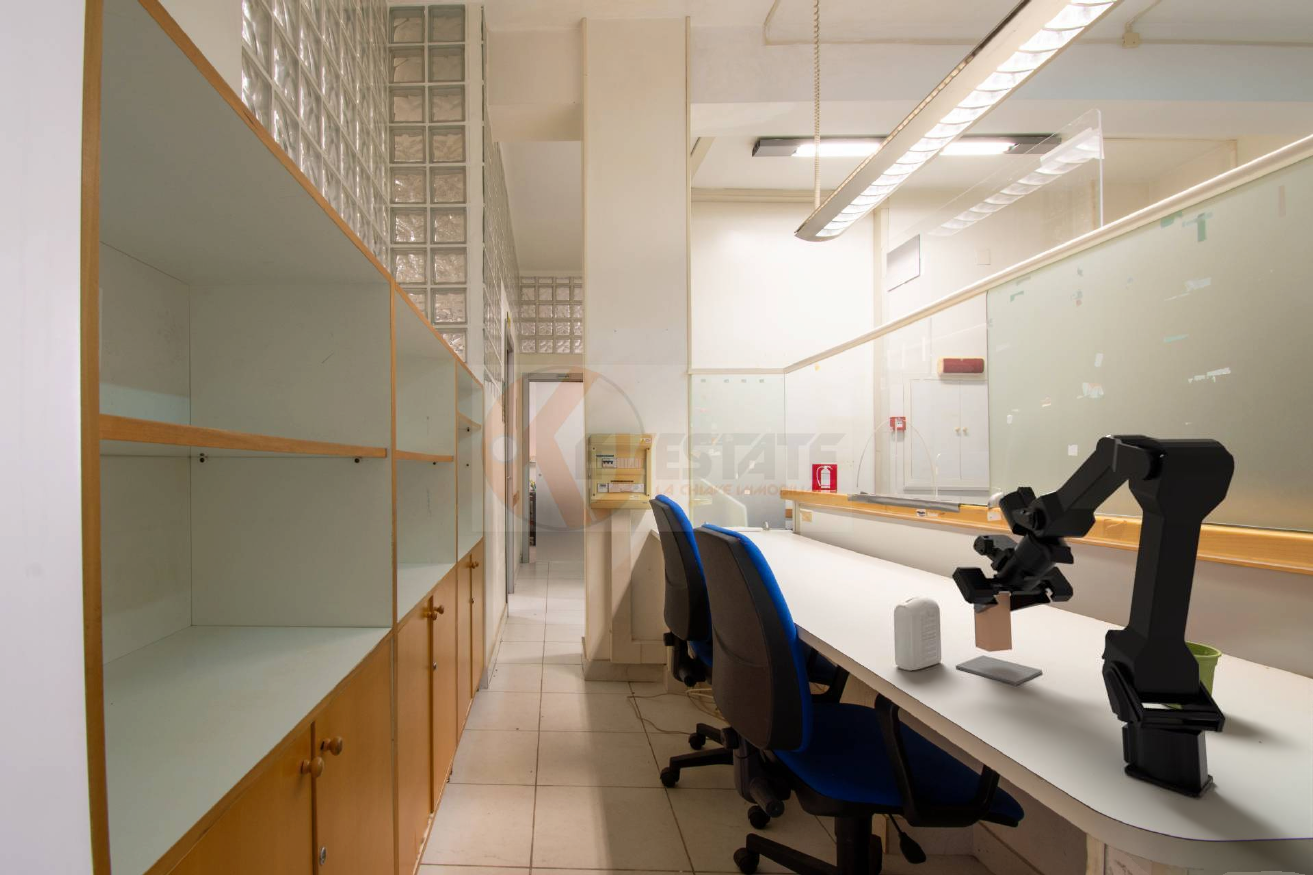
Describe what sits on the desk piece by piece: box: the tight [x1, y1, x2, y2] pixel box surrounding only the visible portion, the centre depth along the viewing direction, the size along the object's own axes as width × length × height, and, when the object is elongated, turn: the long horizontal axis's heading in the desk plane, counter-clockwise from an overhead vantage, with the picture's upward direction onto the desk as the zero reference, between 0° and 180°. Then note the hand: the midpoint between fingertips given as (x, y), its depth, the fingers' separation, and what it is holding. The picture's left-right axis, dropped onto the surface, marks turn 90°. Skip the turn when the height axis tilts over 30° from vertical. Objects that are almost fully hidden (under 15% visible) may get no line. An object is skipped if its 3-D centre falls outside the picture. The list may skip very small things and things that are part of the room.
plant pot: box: [1164, 640, 1223, 709], centre depth 85 cm, size 9×9×9 cm
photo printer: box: [893, 595, 942, 672], centre depth 104 cm, size 10×4×12 cm, turn 123°
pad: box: [955, 655, 1043, 686], centre depth 100 cm, size 10×10×1 cm
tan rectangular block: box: [973, 592, 1013, 653], centre depth 101 cm, size 3×5×12 cm, turn 105°
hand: (990, 610), depth 102 cm, fingers closed on tan rectangular block, 5 cm apart
